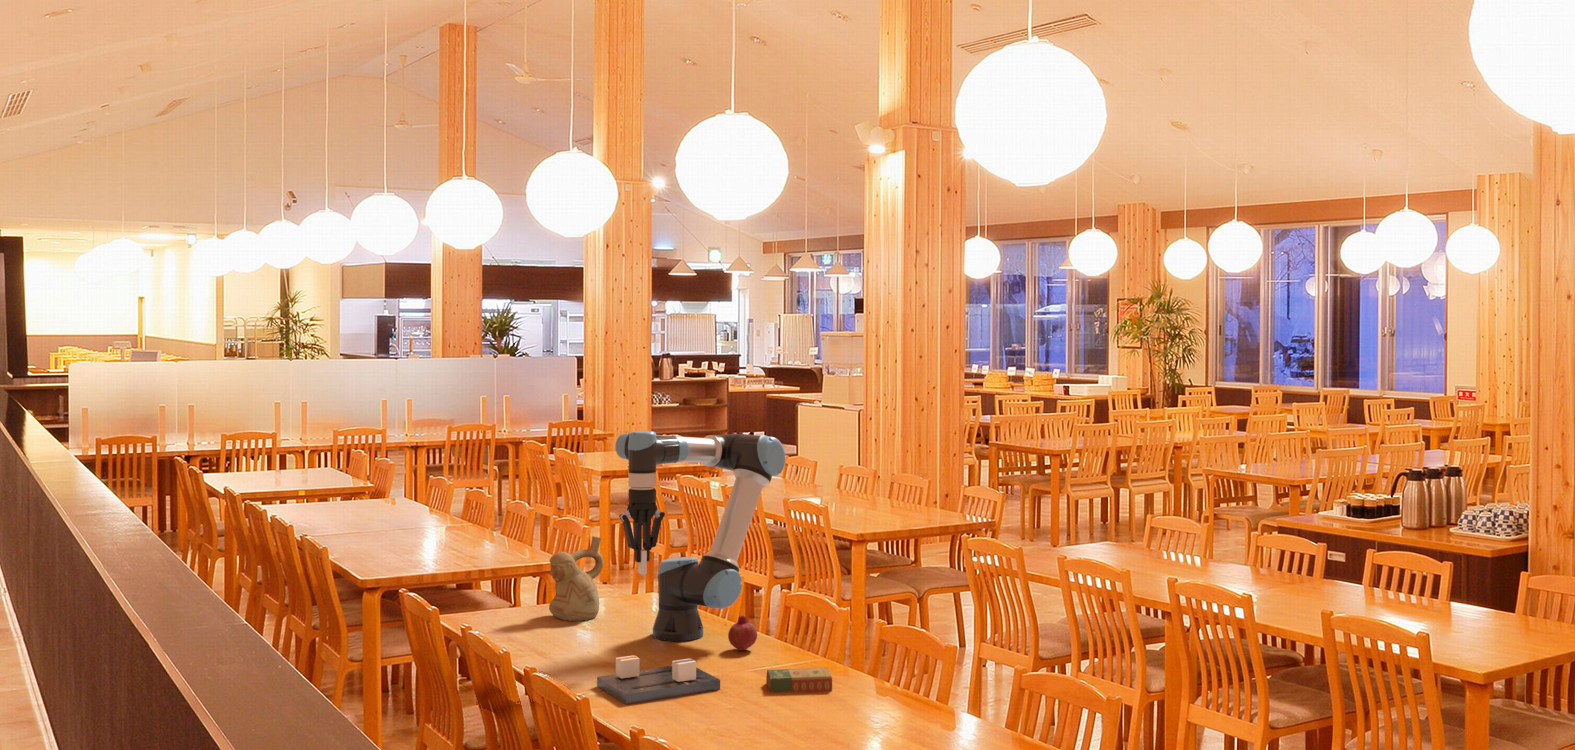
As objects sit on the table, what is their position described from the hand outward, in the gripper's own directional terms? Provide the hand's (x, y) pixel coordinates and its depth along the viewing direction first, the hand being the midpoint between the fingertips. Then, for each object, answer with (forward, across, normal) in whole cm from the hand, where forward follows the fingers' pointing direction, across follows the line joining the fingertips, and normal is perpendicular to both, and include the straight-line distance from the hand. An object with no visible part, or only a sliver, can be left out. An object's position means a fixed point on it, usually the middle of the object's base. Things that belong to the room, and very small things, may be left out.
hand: (642, 573), depth 348 cm
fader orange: (+22, +13, +20) cm, 33 cm away
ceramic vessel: (+25, -5, -59) cm, 64 cm away
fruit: (+25, -30, +3) cm, 39 cm away
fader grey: (+22, +2, +30) cm, 37 cm away
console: (+24, +7, +25) cm, 36 cm away
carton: (+25, -24, +42) cm, 55 cm away
